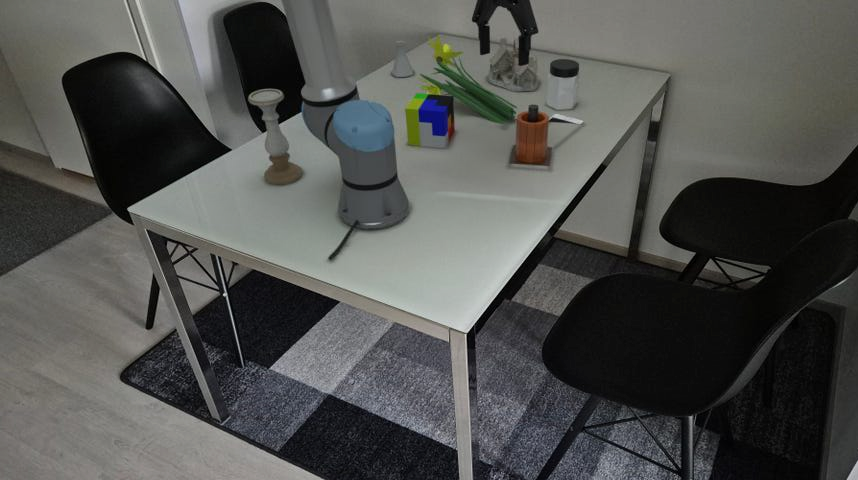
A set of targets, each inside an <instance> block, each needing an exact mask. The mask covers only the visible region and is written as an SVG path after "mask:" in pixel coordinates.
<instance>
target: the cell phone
mask: <svg viewBox="0 0 858 480" xmlns="http://www.w3.org/2000/svg"><path fill="white" fill-rule="evenodd" d="M549 123H558V124H560V123H561V124H573V125H574V124H575V125H584V123H585V122H584V120H582V119H578V118H574V117H570V116H566V115H563V114H559V113H555V114H553V115H552V116H551V117H549Z"/></svg>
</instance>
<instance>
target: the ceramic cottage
mask: <svg viewBox="0 0 858 480" xmlns="http://www.w3.org/2000/svg"><path fill="white" fill-rule="evenodd" d="M520 36H521V33H520V32H519V33H518V37H517V38H516V37H515V38H514V40H513V46H512V48H513V50H508V49H507V48H508V47H507V46H508V45H507V37H506V36H501V37H500V42H499V47H498V49H497V51H496V52H495V53H494V54H493V56H492V57H491V58H490V59H489V62H490V64H489V70H488V73H487V76H486V81H487V82H488V83H490V84H491V85H495V86H497V87H501V88H504V89H506V90H509V91H511V92H517V93H518V92H533V91H536V90H537V89H538V86H539V83H540V81H539V75H538V74H537V73H538V72H539V69H538V57H537V55H536V56H533V55H531V51H532V50H531V49H530V51H529V64H527V65H523V66H518V57H519V37H520Z"/></svg>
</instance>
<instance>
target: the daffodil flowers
mask: <svg viewBox="0 0 858 480" xmlns="http://www.w3.org/2000/svg"><path fill="white" fill-rule="evenodd" d="M427 37H428V41H429V44H430V46H431V48H432V49H433V50H434V52H435V53H434V54H433V55H432V58H433V59H434V60H435V62H436V63H437V65H438V66H439V67H440V68H438V67H433V70H435V71H436V72H433V73H432V75H435V74H442V75H443V76H445V77H447V78H449V79H450V80H452V81H453V82H454V83H455V84H453V83H452V82H450V81H448V80H447V79H444V80H445V83H441V82H440V81H438V80H436V79H434V78H432V77H429V76H427V75H425V74H422V73H419V76H420V77H417V76H416V78H417V79H418V80H420V81H422V82H424V83H425V84H426V85H422V86H419V88H420V89H422V90H427V91H428V92H426V93H425V94H433V95H443V94H442V91H444V92H446V94H444V95H446V96H453V97H454V99H456V100H458V101H459V102H461V103H463V104H465V105H466V106H467V107H469V108H471V109H473V110H474V111H476V112H477V113H478V114H480V115H482V116H483V117H485V118H486V119H488V120H490V121H491V122H493V123H495V124H499V125H506V126H507V122H509V121H510V120H511V121H513V120H515V117H516V115H517V111H516V110H515V109H517V108H518V106H517V105H515V104H514V103H512V102H510V101H508V100H506V99H505V98H504V97H501V96H500V95H498V94H496V93H494V92H492V91H491V90H489V89H486V88H485V87H483V86H482V85H481V84H480V83H479V82H478V81H476V79H474V78H473V76H472V75H470V73H468V72H467V71H466V69H465V68H464V66H463V63H462V61H461V58H460V56H461V55H462V54H464V51H453V48H452V46H451V45H449V44H448V43H445V44H442V41H441V39H440V36H439V35H438V34H437V35H436V37H435V43H434V41H433V40H432V39H431V38H430V37H429V36H427ZM456 57H458V59H459V60H458V61H459V65H460V67H459V65H458V64H457V61H456V60H455V58H456ZM451 59H452V61H451ZM448 65H449V66H451V67H454V68H456V69H457V71H458V72H456V71H455V70H453V69H451V68H450V67H448ZM463 72H464V73H465V74H464V73H463ZM466 75H467V76H468V77H467V76H466ZM470 79H471V80H470ZM456 84H457V85H456ZM441 90H442V91H441ZM514 108H515V109H514Z"/></svg>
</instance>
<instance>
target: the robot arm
mask: <svg viewBox="0 0 858 480" xmlns="http://www.w3.org/2000/svg"><path fill="white" fill-rule="evenodd" d="M281 3H282V8H283V11H284V14H285V18H286V21H287V24H288V27H289V31H290V34H291V38H292V41H293V44H294V48H295V52H296V55H297V58H298V61H299V65H300V68H301V72H302V74H303V78H304V81H305V83H304V85H303V87H302V88H301V91H300V94H301V97H302V103H301V117H302V120H303V122H304V124H305V126H306V128H307V129H308V131H309V132H310V134H311V135H312V136H314V137H315V138H316V139H317V140H319V141H320V142H321V143H322V144H323V145H325V146H326V147H327V148H328V149H329V150H330V151H331V152H332V153H334V155H336V157H337V158H338V160H339V161H338V162H339V166H340V174H341V179H342V185H341V191H340V195H339V200H338V206H337V209H338V210H337V211H338V215H339V216H338V217H339V219H340V220H341V221H342V223H344V224H345V225H347V226H348V227H350V228H349V230H348V231H347V233H346V234H345V236H344V237H343V238H342V240H341V242H340V243H339V245H338V246H337V247H336V249H334V251H333V252H332V253H331V254H330V255H329V256H328V260H329V261H332V260H333V259H334V258H335V257H336V256H337V254H339V252H340V251H341V250H342V248H343V247H344V246H345V244H346V243H347V241H348V239H349V238H350V236H351V235H352V233H353V232H354V230H355V229H357V230H361V231H378V230H383V229H387V228H390V227H393V226H395V225H398V224H400V223H401V222H402V221H403V220H404V219H406V217H408V214H409V212H410V203H409V202H410V201H409V198H408V195H407V194H406V192H405V189H404V187H403V185H402V183H401V181H400V179H399V175H398V163H397V152H396V141H395V135H396V134H395V125H394V123H393V118H392V115H391V112H390V111H389V110H388V109H387V108H386V107H385V106H384V105H382V104H380V103H379V102H376V101H371V102H370V101H369V100H366V99H361V98H360V94H359V89H358V85H357V81H356V80H355V79H354V77H351V76H350V75H348V74H347V71H346V68H345V64H344V60H343V55H342V51H341V46H340V43H339V39H338V35H337V32H336V27H335V22H334V19H333V14H332V11H331V7H330V3H329V0H281ZM498 7H499V8H500V7H501V8H503V9H506V10H507V11H508V12H509V13H510V15H511V17H512V19H513V21H514V23H515V25H516V27H517V28H518V31H519V33H521V36H520V37H519V57H518V66H523V65H527V64H529V51H530V50H531V49H532V36H534V35H537V34H539V28H538V24H537V21H536V18H535V17H536V16H535V14H534V10H533V7H532V3H531V0H476V3H475V7H474V9H473V13H472V16H471V22H472V23H475V24H476V26H477V34H478V35H477V36H478V40H479V55H480V56H484V55H489V54H491V25H490V23H489V21H490V20H491V18H492V16H493V15H494V14H495V12H496V10H497V9H498Z"/></svg>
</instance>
